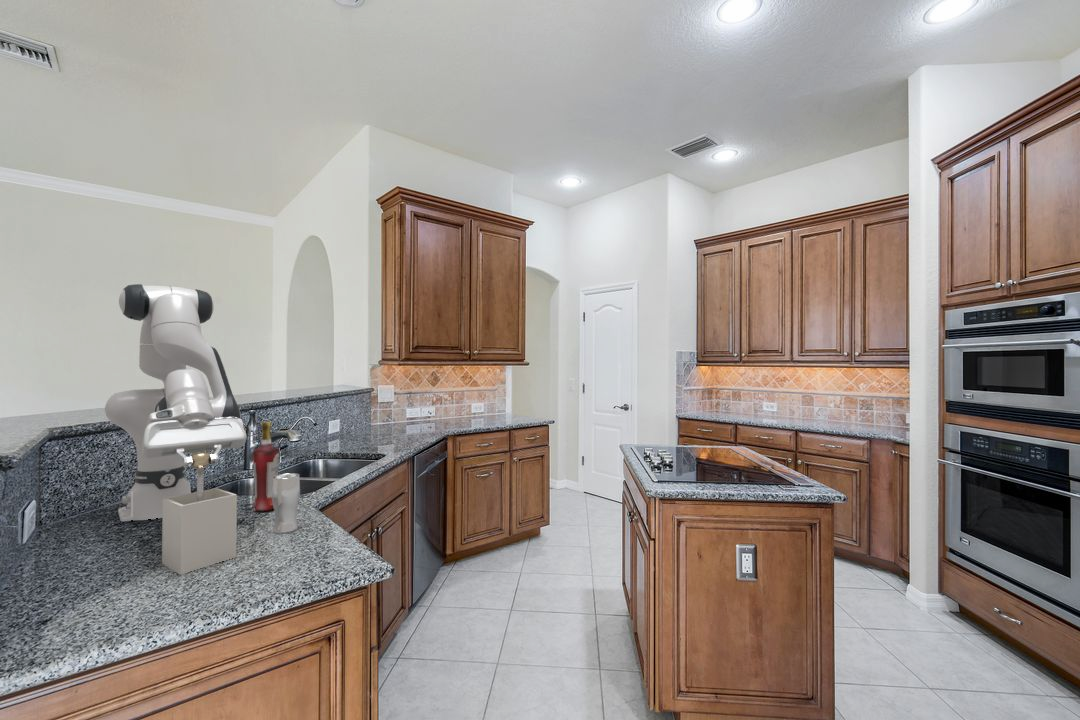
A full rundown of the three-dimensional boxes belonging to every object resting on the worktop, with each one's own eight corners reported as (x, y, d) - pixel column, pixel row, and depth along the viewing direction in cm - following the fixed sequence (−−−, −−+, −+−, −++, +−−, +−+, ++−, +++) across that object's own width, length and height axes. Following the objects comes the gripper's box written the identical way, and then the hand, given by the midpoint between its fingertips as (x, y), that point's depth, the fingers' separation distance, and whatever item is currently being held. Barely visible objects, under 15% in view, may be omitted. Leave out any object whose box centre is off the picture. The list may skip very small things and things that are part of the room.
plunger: (170, 538, 107) (171, 454, 107) (213, 527, 114) (213, 449, 114) (185, 545, 102) (186, 458, 102) (228, 534, 109) (229, 452, 109)
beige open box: (162, 563, 106) (162, 498, 106) (216, 547, 115) (216, 488, 116) (180, 575, 100) (181, 506, 100) (236, 557, 109) (236, 494, 109)
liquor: (259, 506, 150) (260, 421, 150) (283, 505, 151) (283, 420, 151) (247, 513, 142) (248, 423, 143) (272, 512, 143) (273, 423, 144)
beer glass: (287, 534, 124) (287, 479, 124) (265, 533, 125) (265, 478, 126) (305, 526, 131) (305, 473, 131) (284, 524, 132) (284, 472, 133)
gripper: (238, 423, 123) (249, 465, 116) (138, 432, 108) (143, 479, 101) (243, 408, 120) (254, 449, 113) (140, 414, 105) (146, 462, 99)
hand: (201, 464), depth 107 cm, fingers closed on plunger, 4 cm apart
